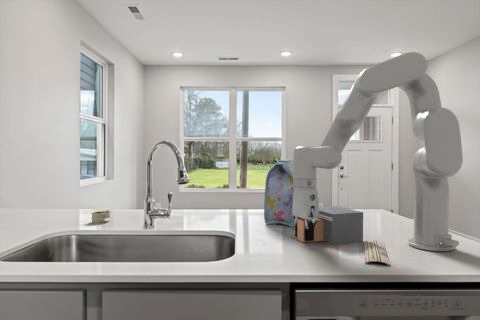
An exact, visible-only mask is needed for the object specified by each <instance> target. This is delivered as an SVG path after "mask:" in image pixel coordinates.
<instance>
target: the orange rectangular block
mask: <svg viewBox="0 0 480 320" xmlns="http://www.w3.org/2000/svg"><path fill="white" fill-rule="evenodd" d="M308 219H311V218H308ZM318 219H319V221H318V222H317V223H316V225H315V229H314V240H313V241H305V229H306V225H305V219H297V237H296V238H297V241H299V242H302V243H311V242H325V241H324V219H322V218H318ZM310 222H311V221H308V223H310Z"/></svg>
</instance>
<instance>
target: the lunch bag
mask: <svg viewBox="0 0 480 320" xmlns="http://www.w3.org/2000/svg"><path fill="white" fill-rule="evenodd" d="M265 178H266V179H265V188H264V201H263V202H264V203H263V204H264V205H263V208H264V209H263V211H264V212H263V217H264V218H263V219H264V223H265V224H267V225H272V224H273V225H274V224H275V225H279V224H282V225H285V226H289V227H293V228H295V223H294V222H295V220H294V216H293V214H292V203H293V191H294V188H293V159H284V160H283V159H278V162H276V163H275V164H274V165H273V166H272V167H271V168H270V169H269V170H268V172H267V174H266V177H265ZM300 219H301V218H300Z"/></svg>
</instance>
